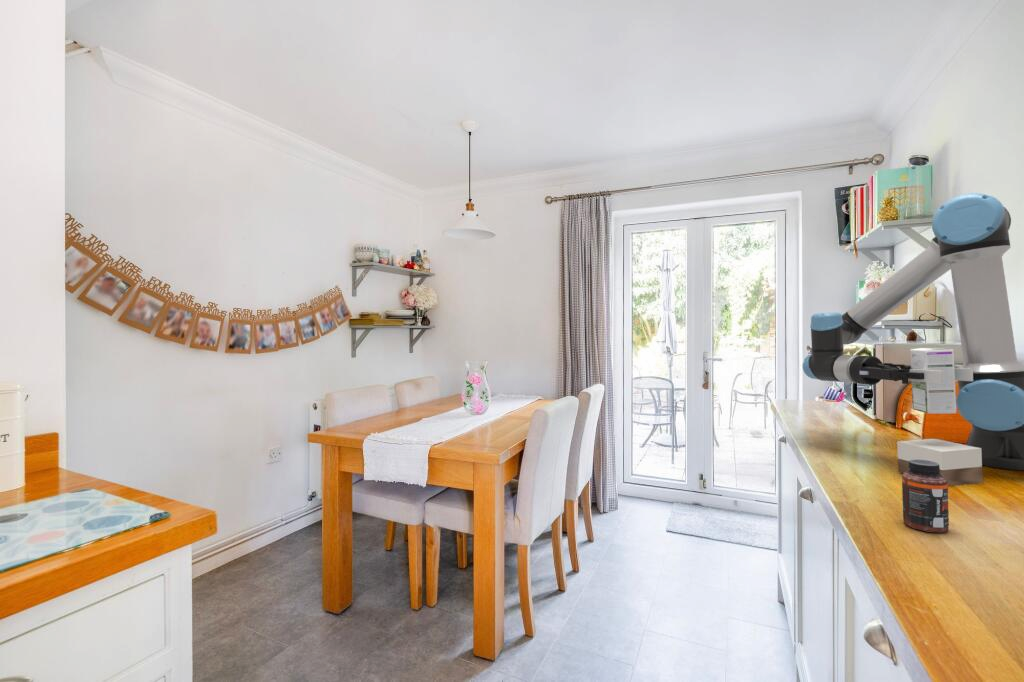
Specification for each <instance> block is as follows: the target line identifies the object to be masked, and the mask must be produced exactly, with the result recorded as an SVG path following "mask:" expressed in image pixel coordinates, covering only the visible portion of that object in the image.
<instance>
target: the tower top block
mask: <svg viewBox="0 0 1024 682" xmlns="http://www.w3.org/2000/svg"><path fill="white" fill-rule="evenodd" d="M896 445H897V446H896V447H897V460H898V459H902V460H906V461H909V460H927V461H933V462H936V463H938V464H939V468H940V470H950V469H961V468H972V467H982V468H983V465H982V451H981V448H977V447H972V446H968V445H966V444H962V443H957V442H953V441H949V440H948V441H947V440H944V439H938V438H923V439H914V440H913V439H912V440H900V441H899V440H898V441H897V442H896Z"/></svg>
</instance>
